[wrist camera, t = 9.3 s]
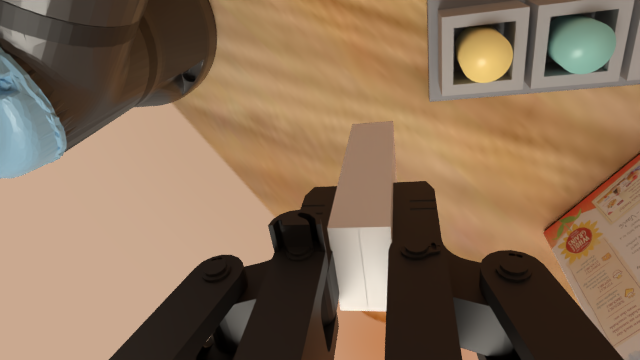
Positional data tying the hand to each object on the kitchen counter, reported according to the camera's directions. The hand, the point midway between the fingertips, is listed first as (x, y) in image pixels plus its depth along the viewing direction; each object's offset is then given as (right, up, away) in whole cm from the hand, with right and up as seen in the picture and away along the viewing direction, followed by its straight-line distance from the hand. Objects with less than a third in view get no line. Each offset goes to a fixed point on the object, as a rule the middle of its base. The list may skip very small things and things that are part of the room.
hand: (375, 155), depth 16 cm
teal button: (+18, +11, +19) cm, 28 cm away
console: (+19, +12, +21) cm, 30 cm away
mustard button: (+12, +11, +20) cm, 26 cm away
